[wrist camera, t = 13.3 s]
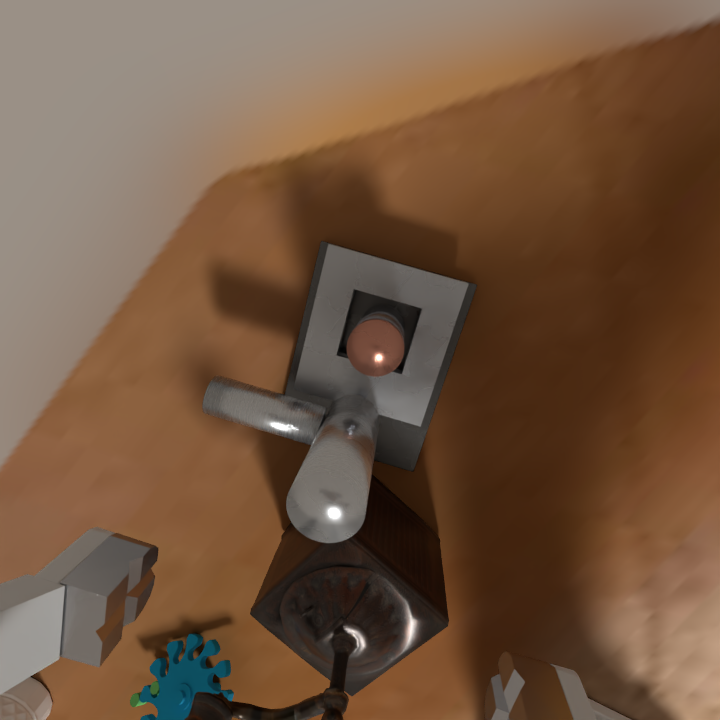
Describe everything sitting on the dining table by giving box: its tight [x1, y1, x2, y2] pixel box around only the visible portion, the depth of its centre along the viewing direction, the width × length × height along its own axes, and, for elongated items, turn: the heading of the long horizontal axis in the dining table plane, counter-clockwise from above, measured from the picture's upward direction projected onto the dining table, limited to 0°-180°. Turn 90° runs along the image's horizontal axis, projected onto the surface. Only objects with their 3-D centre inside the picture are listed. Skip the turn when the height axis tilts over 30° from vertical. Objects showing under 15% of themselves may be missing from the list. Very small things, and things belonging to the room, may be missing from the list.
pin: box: [347, 304, 404, 377], centre depth 29 cm, size 3×3×8 cm
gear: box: [130, 633, 234, 720], centre depth 42 cm, size 11×6×10 cm
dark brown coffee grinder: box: [184, 475, 449, 720], centre depth 30 cm, size 16×11×18 cm
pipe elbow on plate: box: [203, 241, 477, 543], centre depth 27 cm, size 16×16×15 cm
